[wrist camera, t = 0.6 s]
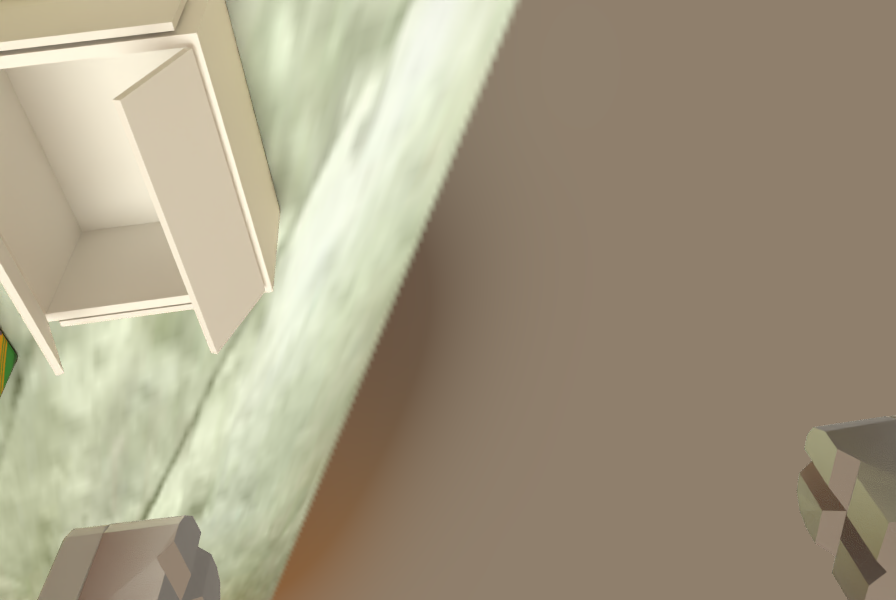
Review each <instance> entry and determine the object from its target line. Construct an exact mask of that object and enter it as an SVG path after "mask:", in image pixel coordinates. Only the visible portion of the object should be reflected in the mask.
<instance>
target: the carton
mask: <svg viewBox="0 0 896 600" xmlns="http://www.w3.org/2000/svg"><path fill="white" fill-rule="evenodd" d="M183 48H192V50H193V53H194V56H195V60H196V63H197V66H198V69H199V73H200V76H201V79H202V83H203V86H204V89H205V93H206V96H207V99H208V103H209V106H210V109H211V112H212V116H213V119H214V122H215V126H216V129H217V132H218V136H219V139H220V142H221V146H222V149H223V152H224V155H225V159H226V162H227V165H228V169H229V172H230V175H231V179H232V182H233V185H234V189H235V192H236V195H237V198H238V202H239V205H240V208H241V212H242V215H243V218H244V222H245V225H246V228H247V232H248V235H249V238H250V241H251V245H252V248H253V251H254V255H255V258H256V261H257V265H258V268H259V271H260V275H261V278H262V281H263V284H264V288H265V292H264V293H266V292H273V286H274V274H275V263H276V252H277V241H278V229H279V218H280V208H279V204H278V200H277V196H276V193H275V189H274V185H273V181H272V177H271V174H270V170H269V166H268V162H267V158H266V155H265V151H264V147H263V143H262V139H261V135H260V132H259V128H258V124H257V120H256V116H255V113H254V109H253V105H252V101H251V97H250V94H249V90H248V86H247V82H246V78H245V74H244V71H243V67H242V63H241V59H240V55H239V52H238V48H237V44H236V40H235V36H234V33H233V29H232V25H231V21H230V17H229V13H228V10H227V6H226V2H225V0H0V237H1V239H2V240H3V242H4V244H5V246H6V247H7V249H8V251H9V253H10V254H11V256H12V258H13V260H14V262H15V263H16V265H17V267H18V269H19V270H20V272H21V274H22V276H23V277H24V279H25V281H26V283H27V285H28V286H29V288H30V290H31V292H32V293H33V295H34V297H35V299H36V301H37V302H38V304H39V306H40V308H41V309H42V311H43V313H44V315H45V316H46V318H47V321H48V322H50V321H57V320H60V321H59V323H60V324H61V326H62V327H63V326H70V325H78V324H85V323H93V322H100V321H108V320H115V319H123V318H130V317H137V316H145V315H152V314H160V313H167V312H175V311H182V310H190V309H194V308H193V305H192V303H191V300H190V297H189V295H188V292H187V290H186V287H185V285H184V282H183V280H182V277H181V274H180V272H179V269H178V267H177V264H176V262H175V259H174V257H173V254H172V251H171V249H170V246H169V244H168V241H167V239H166V236H165V233H164V231H163V228H162V226H161V223H160V221H159V218H158V216H157V213H156V210H155V208H154V205H153V203H152V200H151V198H150V195H149V192H148V190H147V187H146V185H145V182H144V180H143V177H142V175H141V172H140V169H139V167H138V164H137V162H136V159H135V157H134V154H133V151H132V149H131V146H130V144H129V141H128V139H127V136H126V134H125V131H124V128H123V126H122V123H121V121H120V118H119V116H118V113H117V111H116V108H115V105H114V103H113V99H114V98H115V97H117V96H118V95H120V94H121V93H122V92H124V91H125V90H127V89H128V88H129V87H131V86H132V85H133V84H135V83H136V82H138V81H139V80H140V79H142V78H143V77H145V76H146V75H147V74H149V73H150V72H152V71H153V70H154V69H156V68H157V67H158V66H160V65H161V64H163V63H164V62H165V61H167V60H168V59H170V58H171V57H172V56H174V55H175V54H176V53H178V52H179V51H181V50H182V49H183Z"/></svg>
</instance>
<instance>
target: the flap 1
mask: <svg viewBox="0 0 896 600" xmlns="http://www.w3.org/2000/svg"><path fill="white" fill-rule="evenodd" d="M0 281H1V283H2V285H3V287H4V288H5V290H6V292H7V293H8V295H9V297H10V298H11V300H12V302H13V303H14V305H15V307H16V308H17V310H18V312H19V313H20V315H21V317H22V319H23V320H24V322H25V324H26V325H27V327H28V329H29V330H30V332H31V334H32V335H33V337H34V339H35V340H36V342H37V344H38V346H39V347H40V349H41V351H42V352H43V354H44V356H45V357H46V359H47V361H48V362H49V364H50V366H51V367H52V369H53V371H54V373H55V374H56V376H58V375H60V374H63V373H64V371H63V368H62V365H61V362H60V358H59V355H58V352H57V349H56V346H55V343H54V340H53V337H52V333H51V330H50V327H49V324H48V321H47V318H46V316H45V315H44V313H43V311H42V309H41V308H40V306H39V304H38V302H37V301H36V299H35V297H34V295H33V293H32V292H31V290H30V288H29V286H28V285H27V283H26V281H25V279H24V277H23V276H22V274H21V272H20V270H19V269H18V267H17V265H16V263H15V262H14V260H13V258H12V256H11V254H10V253H9V251H8V249H7V247H6V246H5V244H4V242H3V240H2V239H1V237H0Z"/></svg>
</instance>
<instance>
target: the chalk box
mask: <svg viewBox="0 0 896 600" xmlns="http://www.w3.org/2000/svg"><path fill="white" fill-rule="evenodd" d="M16 362H17V354H16V353H15V352H14V350H13V349H12V347H11V346H10V344H9V343H8V341H7V340H6V339H5V337H4V336H3V334H2V332H1V331H0V397H1V395H2V392H3V390H4V388H5V385H6V383H7V381H8V379H9V376H10V374H11V372H12V370H13V368H14V365H15V364H16Z"/></svg>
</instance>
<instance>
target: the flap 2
mask: <svg viewBox="0 0 896 600" xmlns="http://www.w3.org/2000/svg"><path fill="white" fill-rule="evenodd" d="M113 103H114V105H115V108H116V111H117V113H118V116H119V118H120V121H121V123H122V126H123V128H124V131H125V134H126V136H127V139H128V141H129V144H130V146H131V149H132V151H133V154H134V157H135V159H136V162H137V164H138V167H139V169H140V172H141V175H142V177H143V180H144V182H145V185H146V187H147V190H148V192H149V195H150V198H151V200H152V203H153V205H154V208H155V210H156V213H157V216H158V218H159V221H160V223H161V226H162V228H163V231H164V233H165V236H166V239H167V241H168V244H169V246H170V249H171V251H172V254H173V257H174V259H175V262H176V264H177V267H178V269H179V272H180V274H181V277H182V280H183V282H184V285H185V287H186V290H187V292H188V295H189V297H190V300H191V303H192V305H193V308H194V310H195V313H196V315H197V318H198V321H199V323H200V326H201V328H202V331H203V333H204V336H205V338H206V341H207V344H208V346H209V349H210V351H211V353H215V354H218V352H219V351H220V350H221V348H222V347H223V346H224V345H225V343H226V342H227V341H228V339H229V338H230V337H231V335H232V334H233V333H234V332H235V330H236V329H237V328H238V326H239V325H240V324H241V322H242V321H243V320H244V318H245V317H246V316H247V315H248V313H249V312H250V311H251V309H252V308H253V307H254V305H255V304H256V303H257V302H258V300H259V299H260V298H261V296H262V295H263V294H264V292H265V288H264V284H263V281H262V278H261V275H260V271H259V268H258V265H257V261H256V258H255V255H254V251H253V248H252V245H251V241H250V238H249V235H248V232H247V228H246V225H245V222H244V218H243V215H242V212H241V208H240V205H239V202H238V198H237V195H236V192H235V189H234V185H233V182H232V179H231V175H230V172H229V169H228V165H227V162H226V159H225V155H224V152H223V149H222V146H221V142H220V139H219V136H218V132H217V129H216V126H215V122H214V119H213V116H212V112H211V109H210V106H209V103H208V99H207V96H206V93H205V89H204V86H203V83H202V79H201V76H200V73H199V69H198V66H197V63H196V60H195V56H194V53H193V50H192V48H183V49H182V50H181V51H179V52H178V53H176V54H175V55H174V56H172V57H171V58H170V59H168V60H167V61H165V62H164V63H163V64H161V65H160V66H158V67H157V68H156V69H154V70H153V71H152V72H150V73H149V74H147V75H146V76H145V77H143V78H142V79H140V80H139V81H138V82H136V83H135V84H133V85H132V86H131V87H129V88H128V89H127V90H125V91H124V92H122V93H121V94H120V95H118V96H117V97H115V98H114V99H113Z"/></svg>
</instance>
